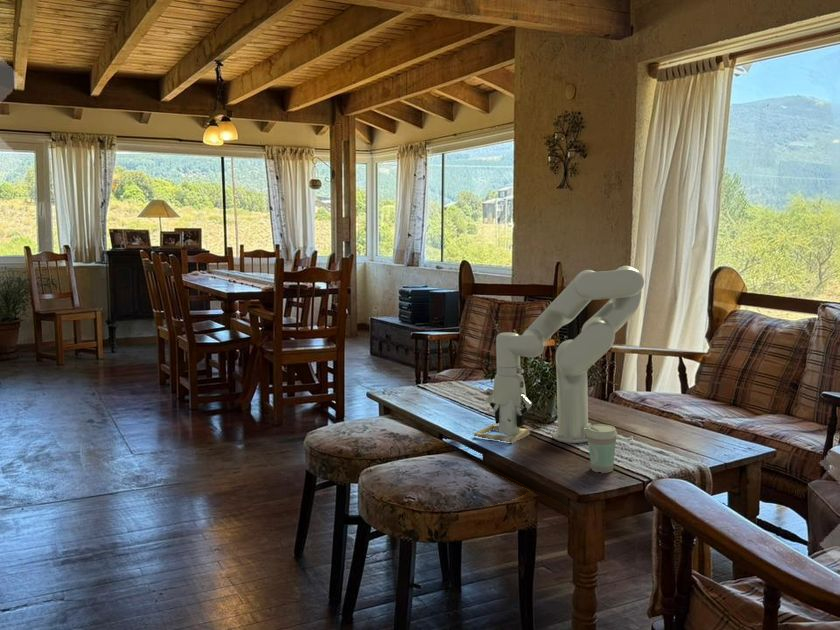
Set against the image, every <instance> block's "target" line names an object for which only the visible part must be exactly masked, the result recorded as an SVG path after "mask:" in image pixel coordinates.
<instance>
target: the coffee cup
mask: <svg viewBox="0 0 840 630" xmlns="http://www.w3.org/2000/svg"><path fill="white" fill-rule="evenodd" d="M618 435H619V434H618V431H617V429H616V427H615V426H613V425H609V424H601V423H599V424H591V426H589V427H588V429H587V431H586V436H587V439H588V441H587V444H588V451H589V459H590V465H591V466H590V467H591V470H592V471H593V472H594V473H595V472H596V473H598V472H601V473H600V474H607V473H610V472H612V471H613V470H614V465H615V464H614V463H615V454H616V453H615V452H616V444H617V443H616V442H617V437H618Z"/></svg>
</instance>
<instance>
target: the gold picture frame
mask: <svg viewBox="0 0 840 630" xmlns="http://www.w3.org/2000/svg"><path fill="white" fill-rule="evenodd" d="M493 429H494V430H493ZM491 430H493V431H496V430H499V424H496V423H492V424H490V425H488V426H486V427H484V428H482V429H481V430H478V431H476V432H475V433H474V434H473V435H474V436H478V437H482V438H488V439H494V440H500V441H506V442H511V443H513V442H515V441H517V440H519V441H520V439H521V440H522V439H524V438H526V437H527V436H529V435H530V433H531V430H530V429H529V428H521V427H520V430H519V434H517V435H515V436H511V437H510V436H507V435H501V434H490V432H489V431H491ZM486 432H489V433H487V434H484V433H486ZM491 432H492V431H491ZM474 436H473V437H474ZM517 442H518V441H517ZM515 443H516V442H515Z"/></svg>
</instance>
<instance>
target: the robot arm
mask: <svg viewBox="0 0 840 630" xmlns="http://www.w3.org/2000/svg"><path fill="white" fill-rule="evenodd" d="M644 284H645V278H644V276H643V274H642V272H640V271H639V270H638V269H637V268H635V267H633V266H630V265H622V266H620V267H618V268H617V269H614V270H605V271H604V270H603V271H602V270H601V271H594V270H592V269H584V270H582V271H580V272H579V273H578V274H577V275H576V276H575V277H574V278H573V279H572V280H571V282H570V283H568V285H567V286H566V287H565V288H564V289H563V290H562V291H561V292H560V294H559V295H558V296H556V297H555V299H554V300H553V301H552V302H551V303H550V304H549V305H548V306H547V307H546V308H545V310H543V311H542V313H540V314H539V316H538V317H536V318H535V320H534V321H533V322H532V323H531V324H530V325H529V326H528V328H526V329H525V330H524V331H523V333H522V334H521V335H520V334H519V333H517V332H509V331H508V332H500V333H498V334H497V335H496V338H495V339H496V340H495V341H496V342H495V344H496V345H495V349H496V351H495V353H496V374H495V375H494V380H493V389H492V390H493V391H492V393H491V394H490V395H488V396H487V397H486V400H487V402H488V403H489V406H490V407H491V409H493V412H494V420H495V424H496V425H499V411H500V405H503V406H507V404H508V400H511V401H513V402H514V407H515V408H516V410H517V412H518V415H517V427H520V428H521V427H522V426H524V423H525V414H526V413H527V412H528V411H529V409H530V408H532V406H533V402H532V401H530V400H529V399H528V397H527V391H526V384H525V379H524V375H523V373H525V371H524V369H523V368H522V366H521V357H524V358H525V357H526V358H536V357H539V356H540V355H542V353H543V352H544V349H545V344H546V342H548V340H549V339H550V338H551V337H552V336H553V335H554V334H555V333H556V332H557V331H558V330H559V329H560V328H562V327H563V326H566V325H568V324H569V323H571V322H572V321H573V320H575V319H576V317H578V315H579V314H580V313H581V312H582V311H583V310H584V309H585V308H586V307H587V306H588V304H589V303H590V302H592V301H594V300H608V301H607V302H606V303H605V304H604V305H603V306H602V307H601V308H599V310H598V311H597V312H596V313H594V314H593V315H592V316H591V317H590V318H589V319H587V320H586V321H585V322H584V324H583V325H582V326H581V327H582V328H581V332H580V333H579V334H578V335H577V336H576V337H575V338H573V339H566V340H564V341H562V342H561V343H560V344H559V345H558V346H557V349H556V351H555V368H556V369H555V370H556V400H557V401H556V403H557V430H555V431H554V432H553V433H552V434H553V435H552V437H553V439H554V440H556V441H558V442H563V443H567V444H580V443H586V442H587V443H588V439H587V436H586V431H587V429H588V427H589V426H591V425H592V423H590V422H589V409H588V407H589V402H588V397H589V396H588V390H589V389H588V370H589V369H591V367H593V365H594V364H595V363H596V362H597V361H598V360H600V359H601V358H602V357H603V356H604V355H605V354H606V353H607V352H609V350H610V349H611V347H612V346H614V345H613V344H614V342H615V339H616V333H618V331H619V330H620V329H621V328H623V326H624V325H625V324H626V323H627V322H629V320H630V319H631V317H633V316H634V314H635V313H636V312H637V310H638V307H639V306H640V302H641V299H642V290H643V289H644ZM523 405H525V406H523ZM520 406H521V409H520Z"/></svg>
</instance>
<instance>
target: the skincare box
mask: <svg viewBox="0 0 840 630" xmlns="http://www.w3.org/2000/svg"><path fill="white" fill-rule="evenodd" d="M520 409H521V406H520ZM517 415H518V412H517V410H516V408H515V407H514V402H513V401H511V400H508V404H507V406H503V405H500V411H499V423H498V425H499V431H498V432H499V433H501V434H503V435H504V436H509V437H514V436H516V435H517V434H519V430H520V428H521V427H517Z"/></svg>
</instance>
